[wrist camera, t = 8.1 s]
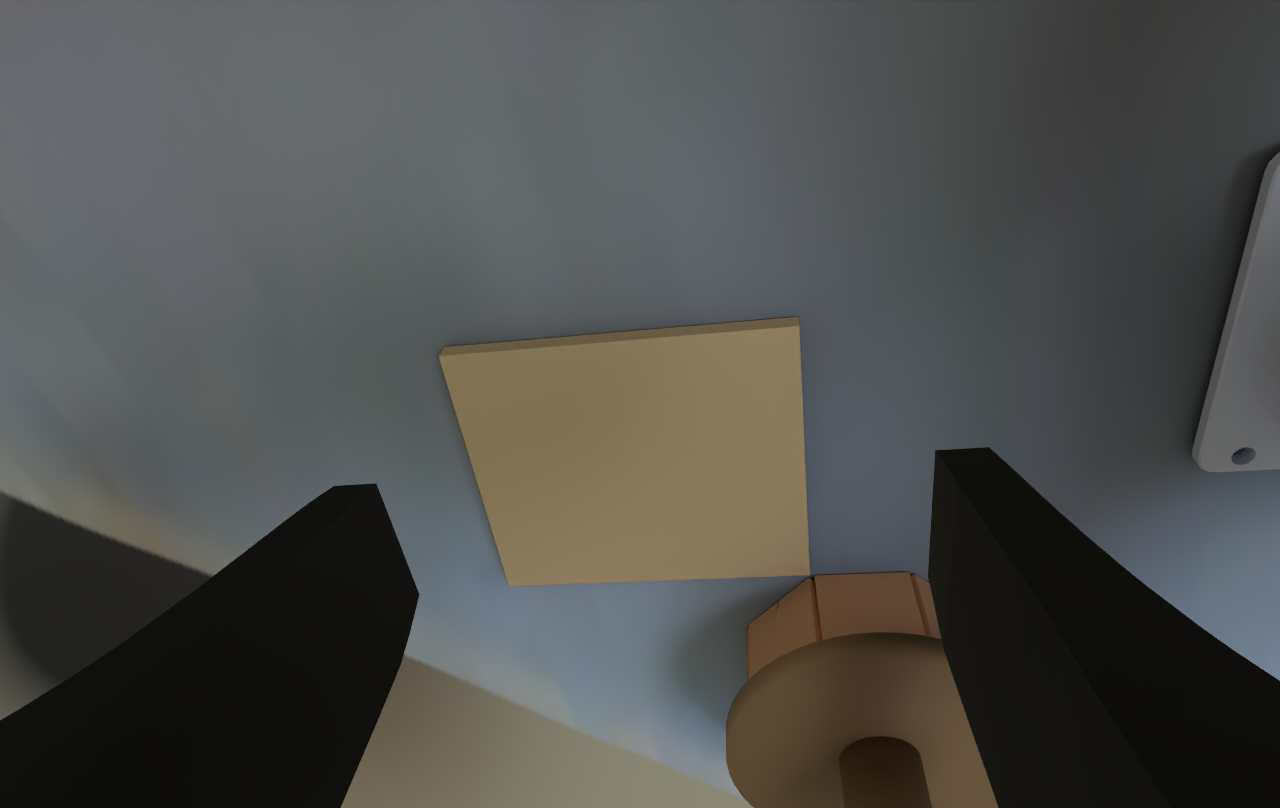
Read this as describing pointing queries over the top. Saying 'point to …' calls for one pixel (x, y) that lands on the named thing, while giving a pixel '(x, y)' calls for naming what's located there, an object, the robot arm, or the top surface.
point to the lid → (856, 729)
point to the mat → (639, 452)
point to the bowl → (841, 613)
